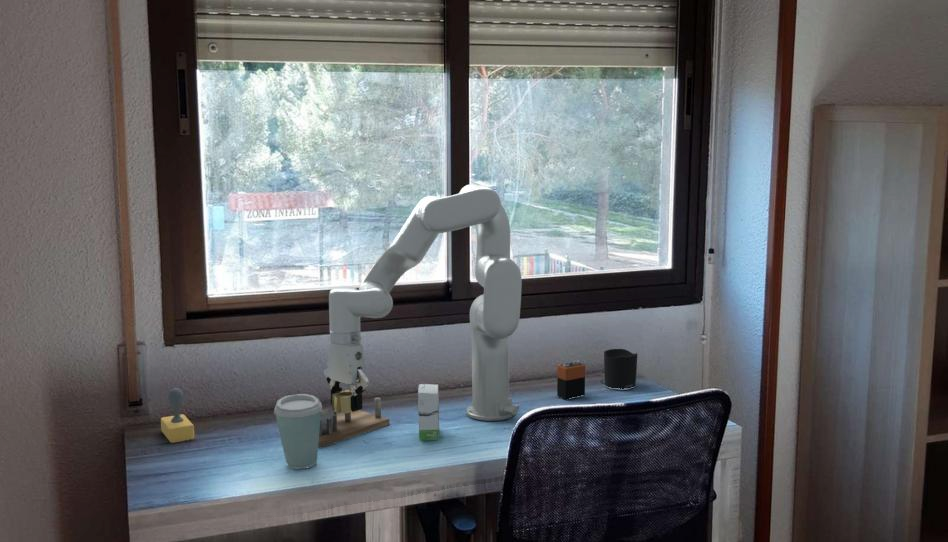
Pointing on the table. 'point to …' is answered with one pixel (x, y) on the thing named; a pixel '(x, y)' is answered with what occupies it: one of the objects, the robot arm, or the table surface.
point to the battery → (570, 379)
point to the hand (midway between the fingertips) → (346, 406)
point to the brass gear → (342, 402)
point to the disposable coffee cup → (299, 428)
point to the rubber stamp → (177, 420)
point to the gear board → (348, 424)
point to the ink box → (428, 412)
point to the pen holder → (620, 368)
